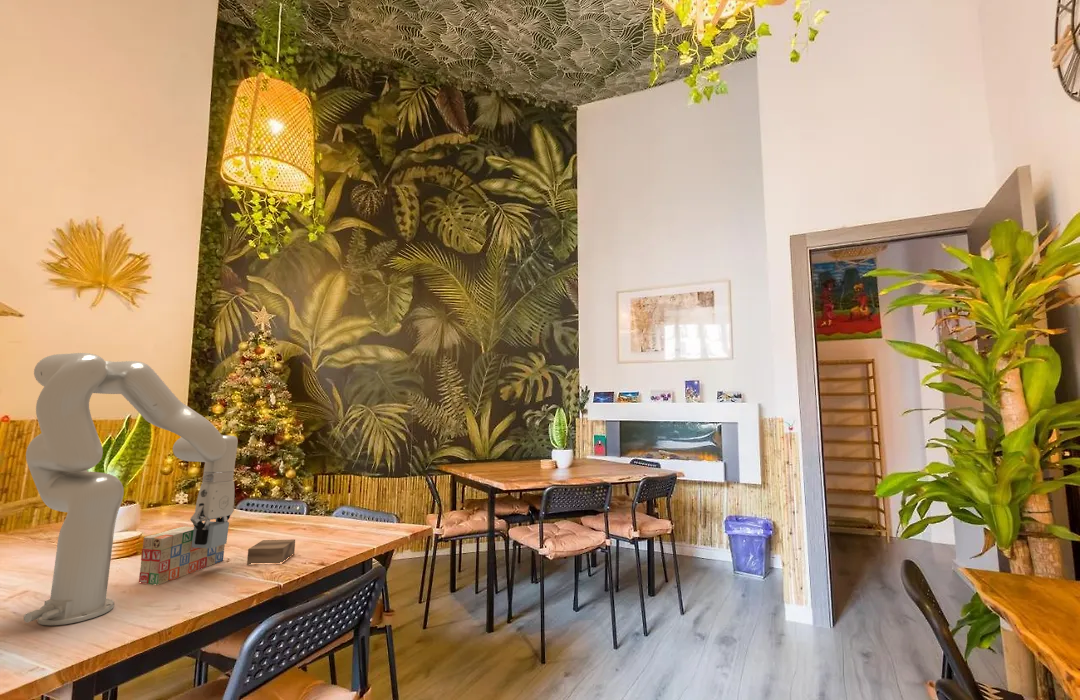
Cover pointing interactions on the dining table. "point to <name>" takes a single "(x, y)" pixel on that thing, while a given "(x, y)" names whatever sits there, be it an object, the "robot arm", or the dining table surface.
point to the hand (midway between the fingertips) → (209, 540)
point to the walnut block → (271, 551)
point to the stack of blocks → (174, 556)
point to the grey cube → (213, 535)
